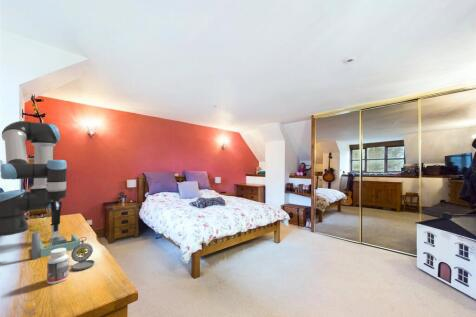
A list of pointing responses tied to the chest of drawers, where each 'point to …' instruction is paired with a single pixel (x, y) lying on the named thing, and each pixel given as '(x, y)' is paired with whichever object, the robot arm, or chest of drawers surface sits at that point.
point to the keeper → (41, 251)
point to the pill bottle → (57, 266)
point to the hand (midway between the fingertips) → (55, 237)
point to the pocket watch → (82, 260)
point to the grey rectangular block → (57, 241)
